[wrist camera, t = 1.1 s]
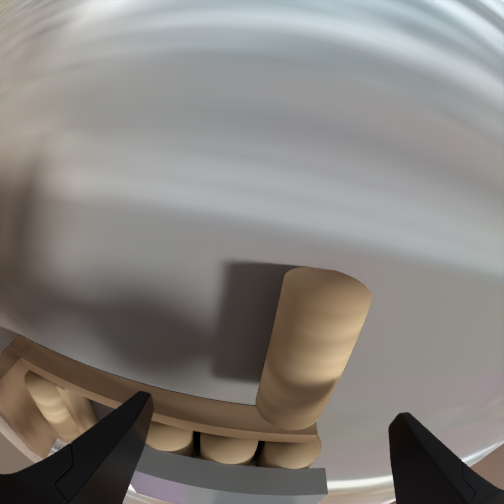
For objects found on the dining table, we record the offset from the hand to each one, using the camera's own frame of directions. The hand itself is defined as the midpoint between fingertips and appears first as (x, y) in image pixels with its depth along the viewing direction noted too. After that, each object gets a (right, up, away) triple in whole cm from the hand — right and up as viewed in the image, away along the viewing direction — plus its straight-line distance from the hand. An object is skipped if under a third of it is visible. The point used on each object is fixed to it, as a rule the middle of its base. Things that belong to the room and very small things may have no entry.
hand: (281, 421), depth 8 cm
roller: (+1, +1, +3) cm, 4 cm away
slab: (-3, -9, +5) cm, 11 cm away
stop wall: (-19, -6, +9) cm, 22 cm away
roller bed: (-8, -7, +9) cm, 14 cm away
